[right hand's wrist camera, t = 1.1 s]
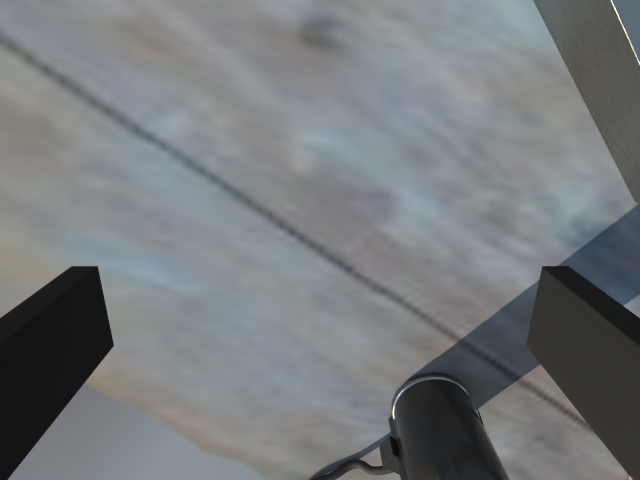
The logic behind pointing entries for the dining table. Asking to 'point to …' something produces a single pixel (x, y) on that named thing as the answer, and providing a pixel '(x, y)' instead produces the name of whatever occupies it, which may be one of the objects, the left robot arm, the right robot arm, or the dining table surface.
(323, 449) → the dining table surface
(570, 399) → the right robot arm
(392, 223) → the dining table surface
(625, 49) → the box
